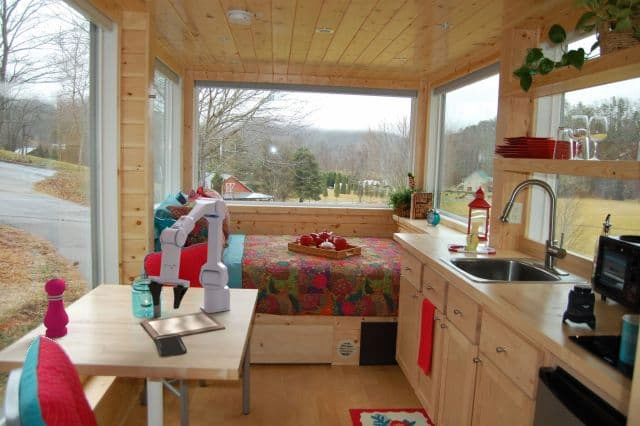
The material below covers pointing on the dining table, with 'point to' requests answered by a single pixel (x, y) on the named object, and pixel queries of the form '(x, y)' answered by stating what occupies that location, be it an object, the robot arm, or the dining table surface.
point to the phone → (170, 345)
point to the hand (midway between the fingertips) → (166, 307)
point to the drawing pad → (182, 325)
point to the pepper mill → (55, 308)
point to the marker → (157, 310)
